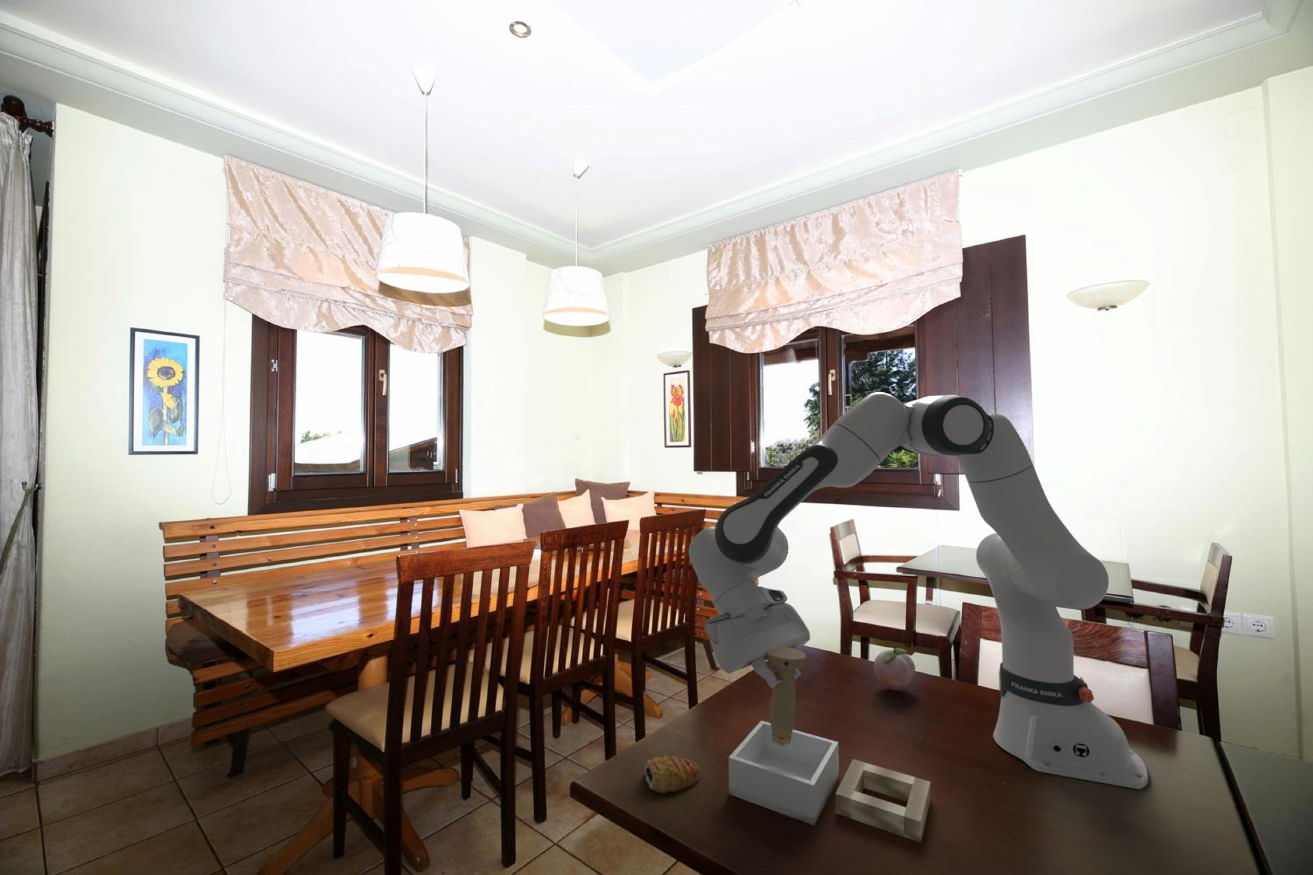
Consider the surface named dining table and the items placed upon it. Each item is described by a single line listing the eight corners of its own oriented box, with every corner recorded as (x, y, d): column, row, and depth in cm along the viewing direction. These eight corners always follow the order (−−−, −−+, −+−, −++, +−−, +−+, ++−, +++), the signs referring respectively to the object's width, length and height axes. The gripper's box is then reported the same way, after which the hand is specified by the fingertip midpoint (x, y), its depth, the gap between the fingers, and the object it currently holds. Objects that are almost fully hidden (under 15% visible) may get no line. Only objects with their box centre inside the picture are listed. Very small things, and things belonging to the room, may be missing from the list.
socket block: (930, 800, 89) (930, 781, 89) (920, 842, 80) (920, 821, 80) (853, 776, 95) (852, 758, 95) (835, 812, 86) (835, 793, 86)
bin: (838, 777, 95) (838, 742, 95) (814, 825, 84) (813, 785, 84) (761, 752, 103) (761, 720, 103) (729, 793, 91) (728, 757, 91)
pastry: (691, 764, 100) (691, 743, 100) (706, 787, 93) (706, 764, 93) (641, 775, 97) (641, 753, 97) (653, 799, 90) (653, 775, 90)
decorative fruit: (883, 678, 134) (883, 637, 134) (919, 688, 128) (919, 645, 128) (867, 691, 127) (867, 647, 127) (904, 703, 122) (904, 657, 122)
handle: (801, 752, 91) (807, 661, 90) (761, 746, 92) (766, 656, 91) (799, 735, 95) (804, 649, 95) (761, 730, 96) (765, 644, 96)
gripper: (709, 610, 93) (753, 690, 85) (789, 589, 105) (834, 657, 97) (691, 629, 96) (732, 708, 88) (771, 607, 108) (813, 674, 101)
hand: (786, 681), depth 93 cm, fingers closed on handle, 3 cm apart
